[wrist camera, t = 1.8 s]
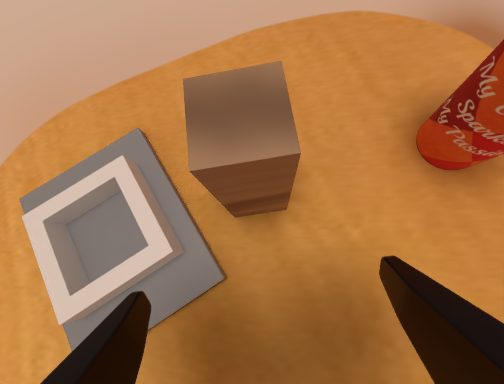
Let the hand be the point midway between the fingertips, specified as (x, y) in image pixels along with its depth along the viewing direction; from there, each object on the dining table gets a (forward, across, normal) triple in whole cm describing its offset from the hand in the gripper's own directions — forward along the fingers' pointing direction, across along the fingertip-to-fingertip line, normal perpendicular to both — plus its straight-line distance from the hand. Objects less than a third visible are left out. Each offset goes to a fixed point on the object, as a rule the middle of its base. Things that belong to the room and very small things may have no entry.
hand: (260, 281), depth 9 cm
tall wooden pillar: (+15, 0, +4) cm, 15 cm away
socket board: (+13, +14, +6) cm, 20 cm away
